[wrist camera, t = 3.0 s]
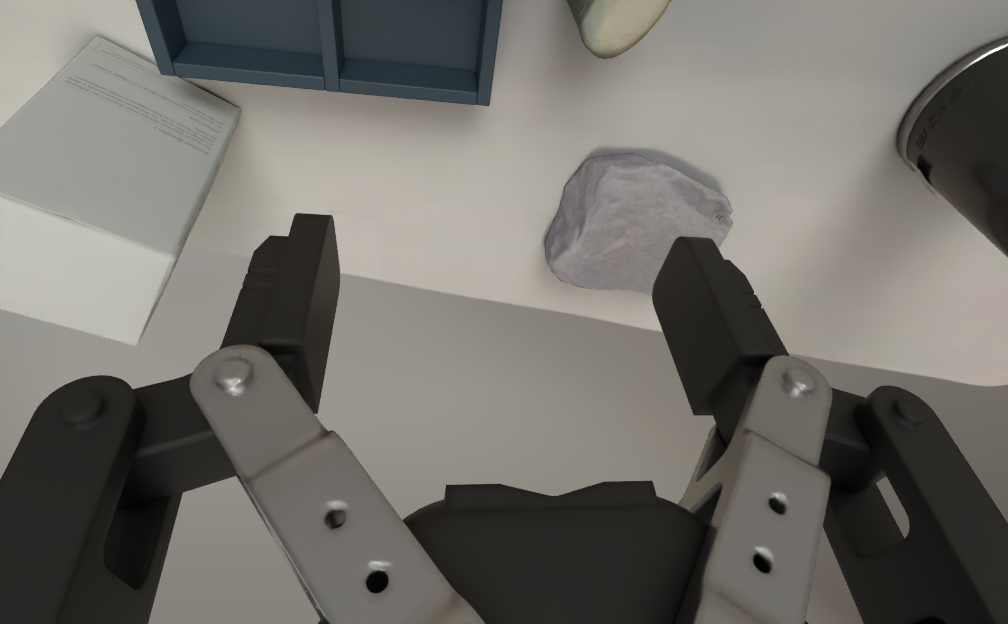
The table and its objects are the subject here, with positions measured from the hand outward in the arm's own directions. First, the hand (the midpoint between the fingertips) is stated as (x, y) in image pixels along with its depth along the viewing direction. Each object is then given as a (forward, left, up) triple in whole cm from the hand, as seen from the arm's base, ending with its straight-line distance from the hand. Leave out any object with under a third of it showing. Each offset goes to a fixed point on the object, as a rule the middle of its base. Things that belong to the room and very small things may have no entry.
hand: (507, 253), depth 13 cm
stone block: (-13, +14, -21) cm, 28 cm away
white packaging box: (+17, +10, -21) cm, 29 cm away
